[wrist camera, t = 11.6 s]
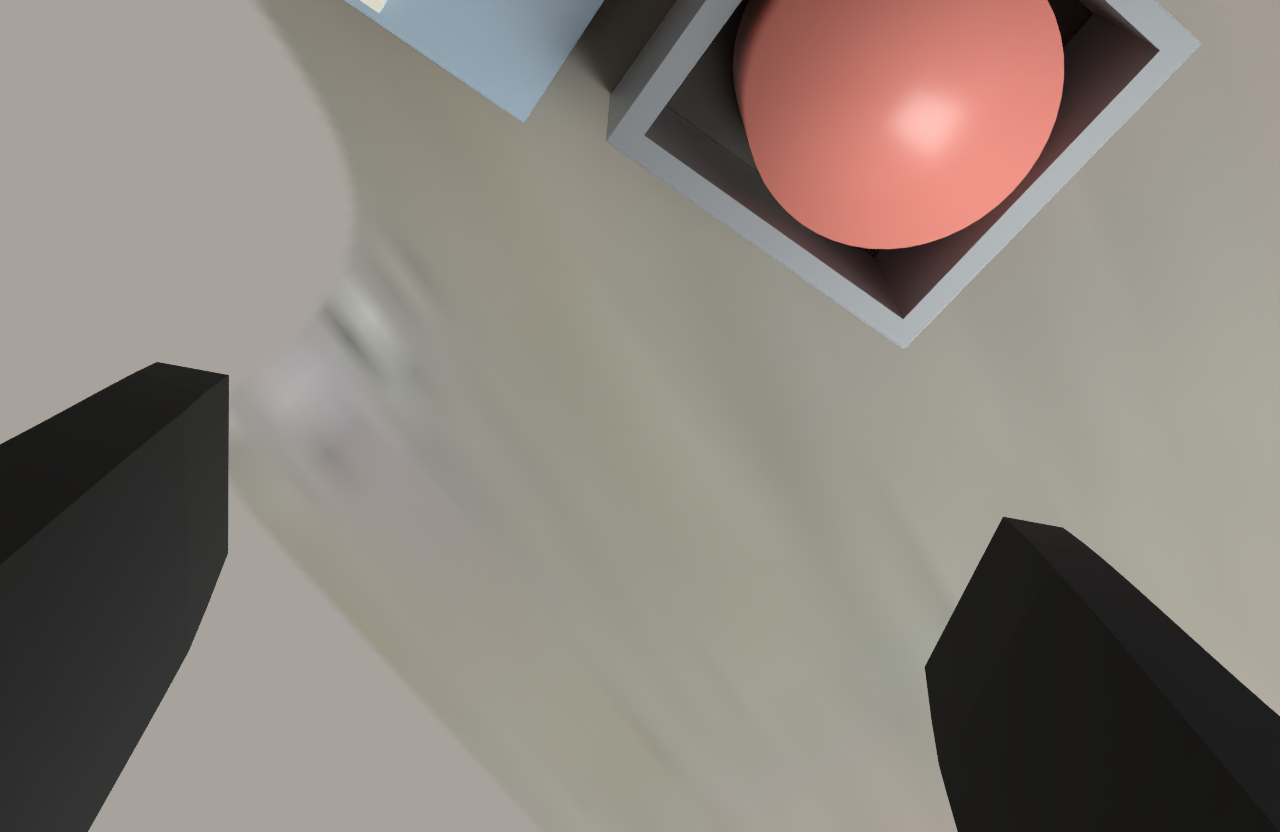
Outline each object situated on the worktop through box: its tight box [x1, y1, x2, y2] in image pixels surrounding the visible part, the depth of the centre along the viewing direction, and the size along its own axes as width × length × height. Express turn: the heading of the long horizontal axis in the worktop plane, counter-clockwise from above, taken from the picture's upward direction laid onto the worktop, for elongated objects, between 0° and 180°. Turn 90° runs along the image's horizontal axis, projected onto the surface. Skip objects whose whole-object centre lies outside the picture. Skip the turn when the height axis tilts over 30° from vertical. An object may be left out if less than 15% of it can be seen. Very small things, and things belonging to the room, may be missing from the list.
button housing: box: [606, 0, 1201, 349], centre depth 16 cm, size 6×6×2 cm
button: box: [733, 0, 1064, 249], centre depth 15 cm, size 4×4×2 cm
